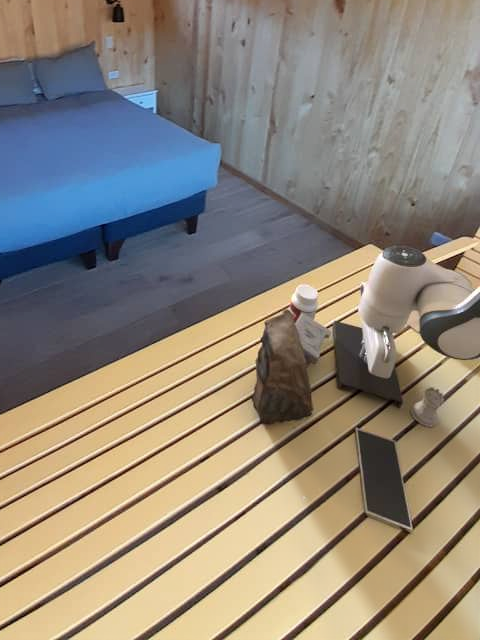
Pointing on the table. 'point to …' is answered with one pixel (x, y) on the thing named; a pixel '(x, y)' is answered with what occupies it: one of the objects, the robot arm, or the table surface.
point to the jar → (414, 321)
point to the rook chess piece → (428, 407)
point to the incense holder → (311, 337)
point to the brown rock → (282, 373)
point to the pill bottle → (304, 302)
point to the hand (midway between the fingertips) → (366, 354)
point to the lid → (360, 365)
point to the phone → (382, 480)
